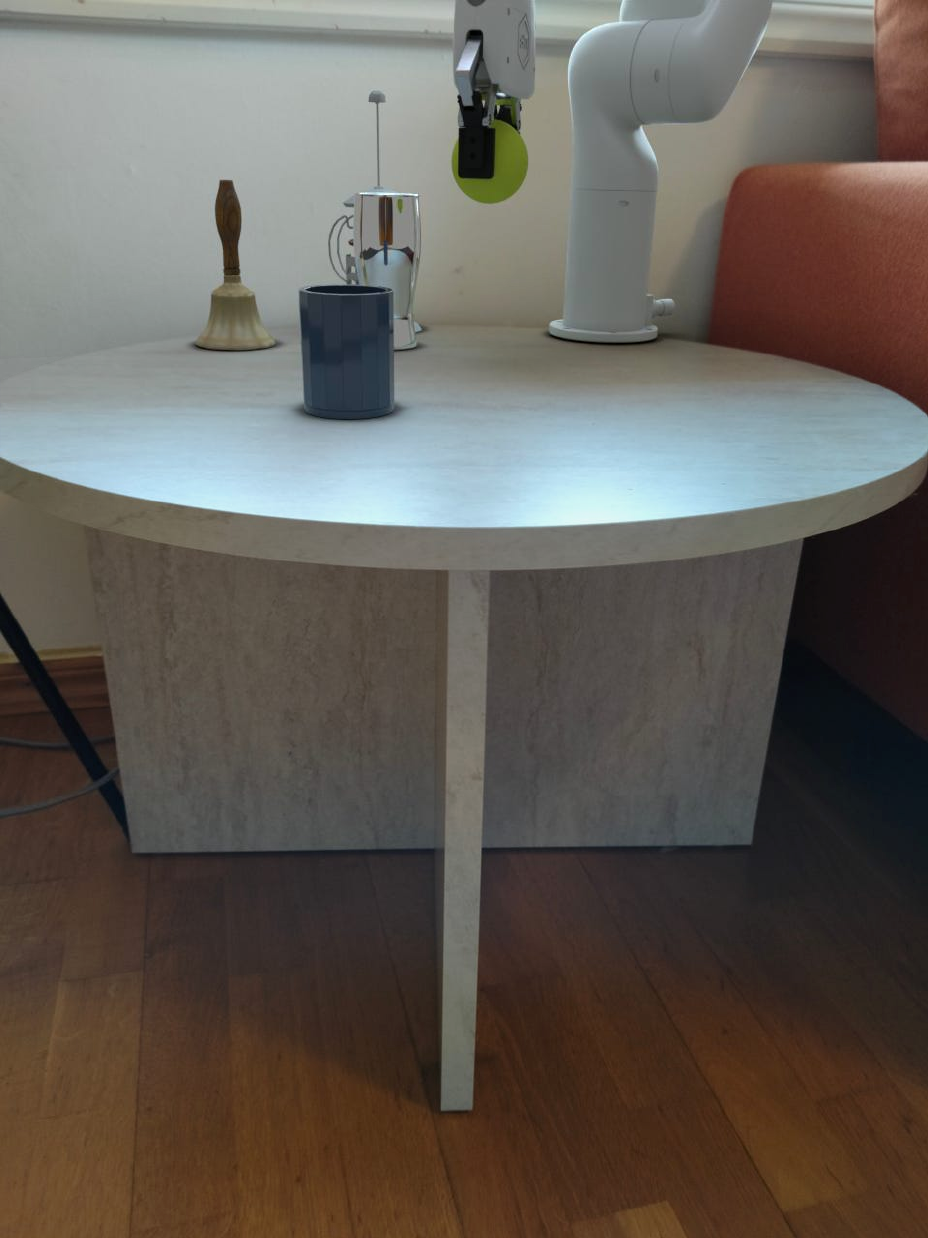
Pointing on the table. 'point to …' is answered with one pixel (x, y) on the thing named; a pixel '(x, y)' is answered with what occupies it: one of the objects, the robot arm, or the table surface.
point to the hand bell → (232, 287)
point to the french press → (350, 261)
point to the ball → (497, 167)
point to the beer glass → (390, 252)
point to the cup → (347, 350)
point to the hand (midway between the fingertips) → (489, 176)
